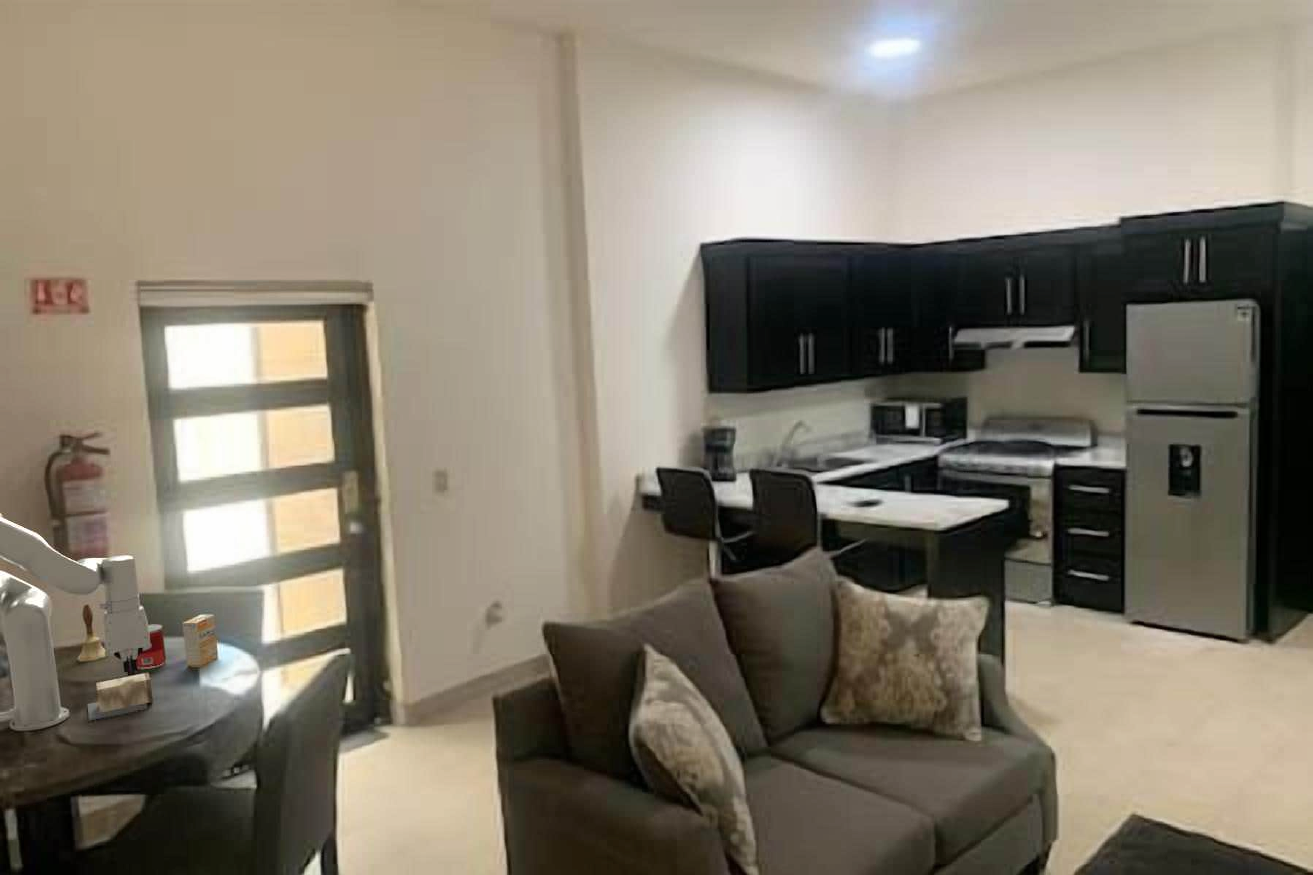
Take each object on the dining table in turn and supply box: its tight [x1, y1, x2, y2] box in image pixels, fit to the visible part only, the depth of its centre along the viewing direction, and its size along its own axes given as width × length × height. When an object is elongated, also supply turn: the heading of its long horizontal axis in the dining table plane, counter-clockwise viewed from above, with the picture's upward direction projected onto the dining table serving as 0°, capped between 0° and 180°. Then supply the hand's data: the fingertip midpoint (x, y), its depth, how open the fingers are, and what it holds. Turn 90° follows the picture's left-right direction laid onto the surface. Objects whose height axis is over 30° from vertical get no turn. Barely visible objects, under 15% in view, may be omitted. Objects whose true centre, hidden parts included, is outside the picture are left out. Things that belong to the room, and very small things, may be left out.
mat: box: [87, 701, 148, 722], centre depth 261 cm, size 13×12×1 cm
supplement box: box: [181, 614, 219, 668], centre depth 292 cm, size 8×5×13 cm, turn 168°
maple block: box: [96, 672, 154, 713], centre depth 262 cm, size 6×6×12 cm
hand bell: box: [76, 603, 107, 663], centre depth 302 cm, size 8×8×16 cm
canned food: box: [136, 623, 167, 668], centre depth 292 cm, size 8×8×11 cm
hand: (131, 673), depth 262 cm, fingers closed
